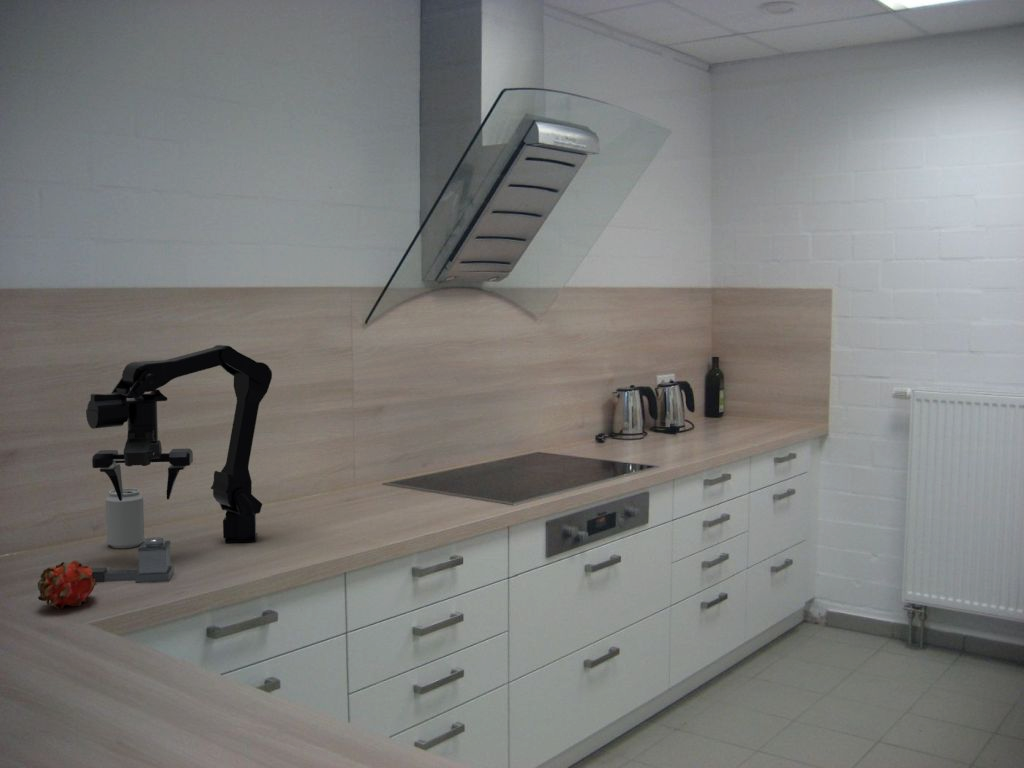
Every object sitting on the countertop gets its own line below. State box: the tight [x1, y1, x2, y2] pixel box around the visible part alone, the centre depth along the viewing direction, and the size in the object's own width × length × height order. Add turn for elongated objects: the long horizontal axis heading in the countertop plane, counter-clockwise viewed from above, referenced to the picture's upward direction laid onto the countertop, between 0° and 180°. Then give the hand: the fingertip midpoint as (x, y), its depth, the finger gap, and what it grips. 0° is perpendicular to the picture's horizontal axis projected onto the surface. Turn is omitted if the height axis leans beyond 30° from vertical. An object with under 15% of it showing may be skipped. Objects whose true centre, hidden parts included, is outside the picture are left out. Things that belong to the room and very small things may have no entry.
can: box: [105, 487, 145, 549], centre depth 216 cm, size 8×8×12 cm
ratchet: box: [90, 564, 175, 584], centre depth 191 cm, size 20×6×4 cm, turn 100°
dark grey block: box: [137, 536, 172, 574], centre depth 192 cm, size 5×5×6 cm
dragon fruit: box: [37, 560, 98, 610], centre depth 176 cm, size 8×8×12 cm
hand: (144, 499), depth 206 cm, fingers open, 9 cm apart
